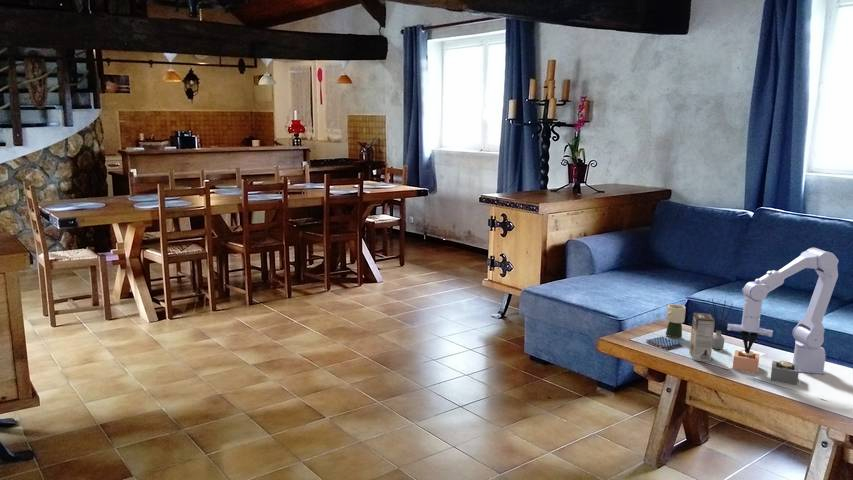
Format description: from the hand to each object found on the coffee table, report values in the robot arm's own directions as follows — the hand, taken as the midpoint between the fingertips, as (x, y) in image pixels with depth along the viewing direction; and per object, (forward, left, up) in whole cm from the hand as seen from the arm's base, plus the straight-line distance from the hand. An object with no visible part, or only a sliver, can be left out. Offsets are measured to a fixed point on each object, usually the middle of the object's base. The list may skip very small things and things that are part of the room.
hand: (747, 352), depth 241 cm
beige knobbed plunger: (-10, +9, -5) cm, 15 cm away
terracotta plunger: (0, 0, -5) cm, 5 cm away
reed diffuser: (+6, -20, -6) cm, 22 cm away
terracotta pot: (0, 0, -6) cm, 6 cm away
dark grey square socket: (-10, +9, -6) cm, 15 cm away
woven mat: (+25, -20, -7) cm, 33 cm away
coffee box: (+14, -8, -6) cm, 17 cm away
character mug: (+19, -32, -6) cm, 38 cm away
